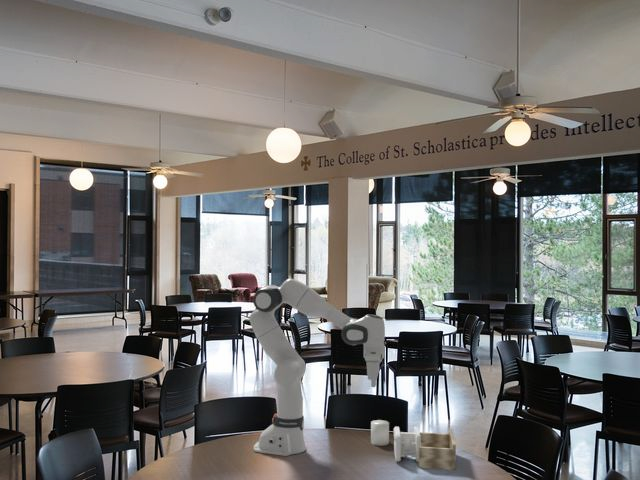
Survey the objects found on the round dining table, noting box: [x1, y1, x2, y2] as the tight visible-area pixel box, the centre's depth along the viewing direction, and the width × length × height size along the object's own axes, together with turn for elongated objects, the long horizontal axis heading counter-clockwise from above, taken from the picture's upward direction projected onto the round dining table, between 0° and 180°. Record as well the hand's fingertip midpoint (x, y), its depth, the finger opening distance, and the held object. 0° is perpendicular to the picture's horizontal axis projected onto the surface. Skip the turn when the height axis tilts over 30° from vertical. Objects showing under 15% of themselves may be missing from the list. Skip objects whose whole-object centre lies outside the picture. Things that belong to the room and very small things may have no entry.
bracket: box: [418, 428, 457, 471], centre depth 251 cm, size 14×20×10 cm
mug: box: [370, 419, 390, 447], centre depth 274 cm, size 8×11×9 cm
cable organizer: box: [393, 426, 421, 463], centre depth 253 cm, size 15×11×12 cm
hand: (373, 386), depth 255 cm, fingers closed
